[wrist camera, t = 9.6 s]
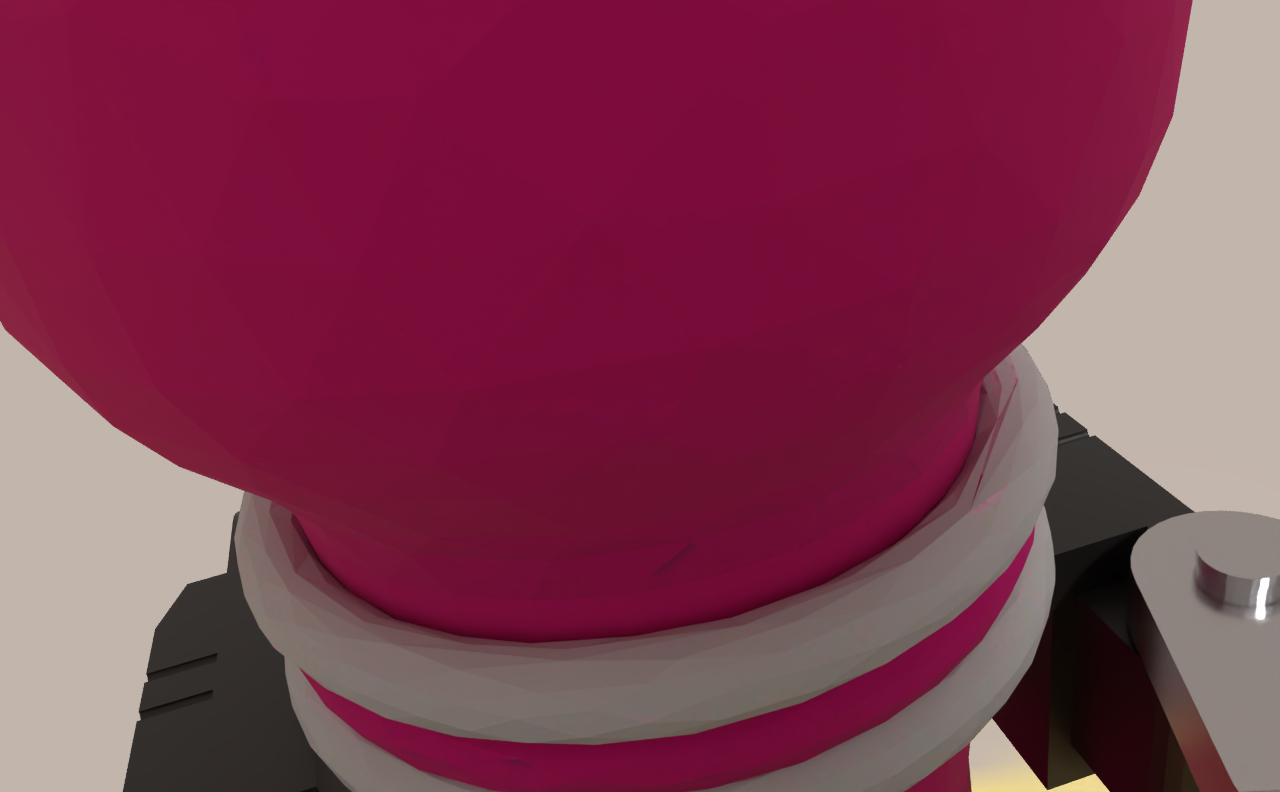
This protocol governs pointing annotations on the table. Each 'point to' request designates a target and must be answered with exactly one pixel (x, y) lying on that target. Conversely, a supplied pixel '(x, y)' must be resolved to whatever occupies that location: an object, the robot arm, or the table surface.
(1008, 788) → the table surface
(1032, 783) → the table surface
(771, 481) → the pepper mill
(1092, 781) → the table surface
